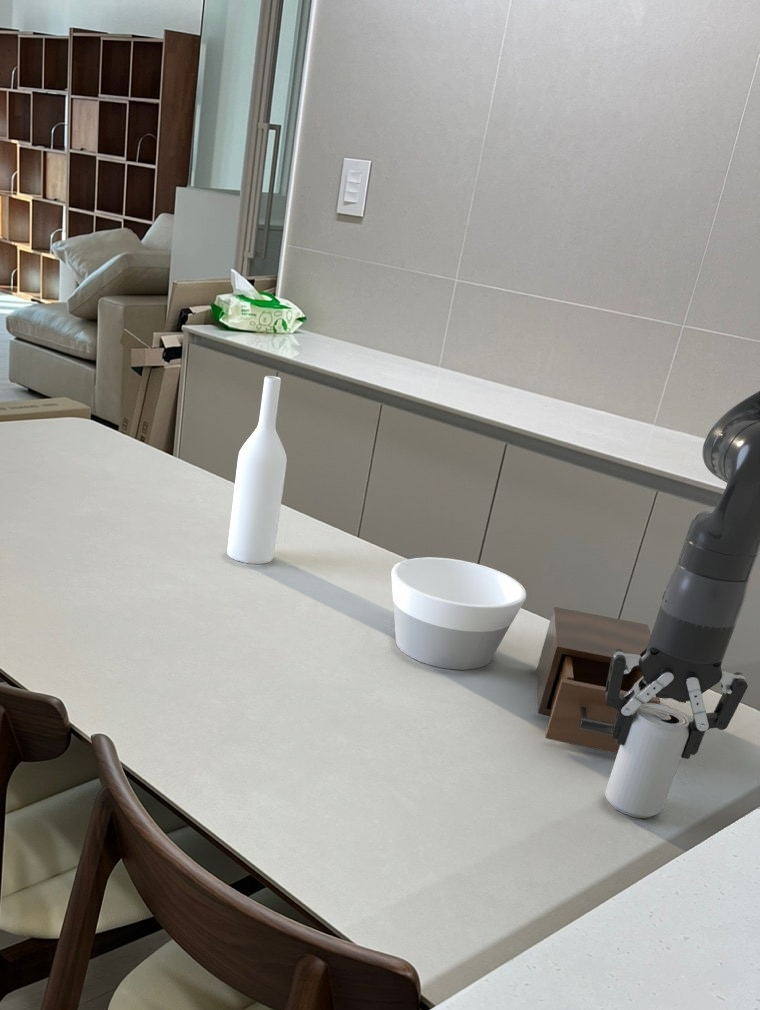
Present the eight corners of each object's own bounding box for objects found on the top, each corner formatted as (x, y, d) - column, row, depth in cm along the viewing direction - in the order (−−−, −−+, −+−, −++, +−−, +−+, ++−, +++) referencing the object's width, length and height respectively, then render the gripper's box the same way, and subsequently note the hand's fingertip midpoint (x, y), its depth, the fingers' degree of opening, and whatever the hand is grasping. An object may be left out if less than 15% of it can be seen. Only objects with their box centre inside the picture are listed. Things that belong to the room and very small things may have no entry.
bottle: (247, 567, 178) (270, 384, 164) (217, 551, 183) (237, 372, 169) (282, 560, 183) (308, 382, 168) (252, 545, 188) (274, 371, 174)
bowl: (474, 691, 144) (492, 619, 139) (354, 645, 154) (367, 575, 149) (529, 652, 158) (547, 585, 153) (416, 612, 168) (429, 547, 163)
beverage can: (643, 827, 118) (677, 734, 112) (592, 801, 122) (622, 709, 116) (670, 810, 122) (703, 718, 116) (619, 785, 126) (649, 695, 120)
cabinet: (637, 733, 138) (660, 666, 134) (537, 713, 140) (556, 646, 136) (627, 687, 151) (648, 624, 146) (536, 669, 153) (554, 606, 149)
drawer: (644, 777, 126) (665, 719, 122) (546, 756, 128) (562, 698, 124) (631, 711, 142) (649, 657, 138) (543, 693, 144) (558, 640, 140)
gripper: (631, 609, 108) (587, 750, 116) (779, 637, 106) (724, 779, 114) (625, 585, 115) (583, 720, 123) (764, 611, 112) (713, 747, 120)
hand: (651, 748), depth 118 cm, fingers closed on beverage can, 6 cm apart
